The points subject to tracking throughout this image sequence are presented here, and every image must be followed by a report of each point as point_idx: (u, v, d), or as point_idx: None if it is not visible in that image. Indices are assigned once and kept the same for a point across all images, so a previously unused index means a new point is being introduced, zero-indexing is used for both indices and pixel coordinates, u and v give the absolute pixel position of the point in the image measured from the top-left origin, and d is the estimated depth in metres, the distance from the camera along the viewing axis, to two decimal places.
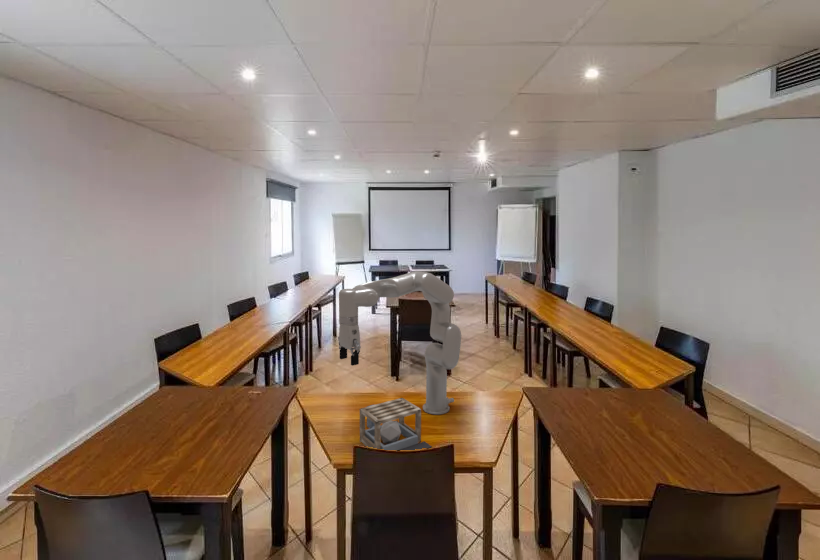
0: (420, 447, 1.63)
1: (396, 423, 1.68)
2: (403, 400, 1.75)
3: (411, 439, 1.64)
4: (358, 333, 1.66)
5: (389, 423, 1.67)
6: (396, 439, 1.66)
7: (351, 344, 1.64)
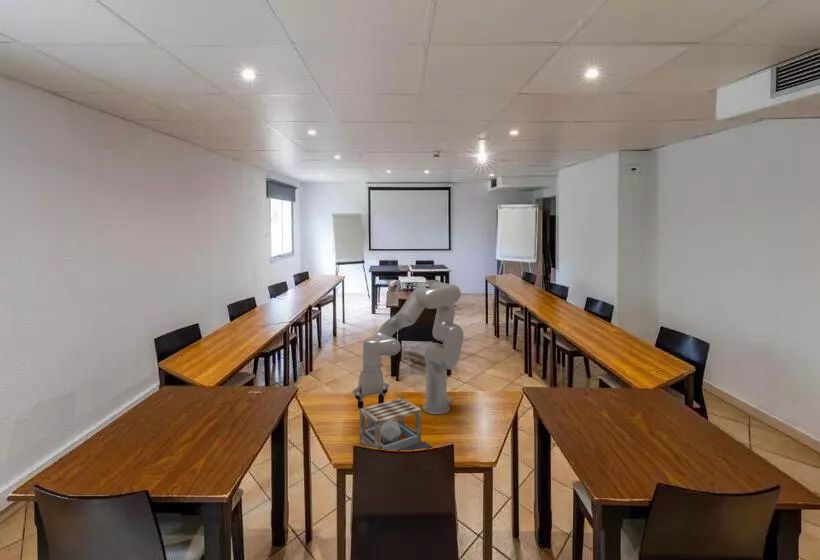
0: (420, 447, 1.63)
1: (396, 423, 1.68)
2: (403, 400, 1.75)
3: (411, 439, 1.64)
4: None
5: (389, 423, 1.67)
6: (396, 439, 1.66)
7: None
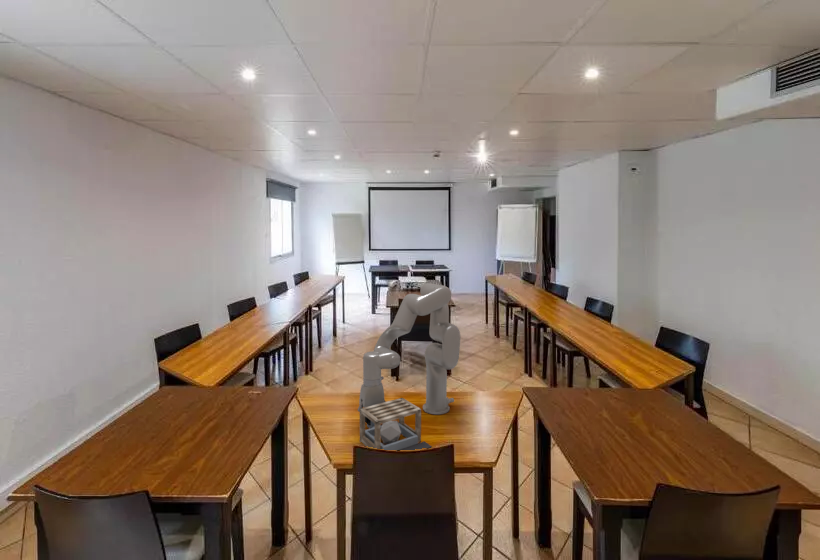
0: (420, 447, 1.63)
1: (396, 423, 1.68)
2: (403, 400, 1.75)
3: (411, 439, 1.64)
4: None
5: (389, 423, 1.67)
6: (396, 439, 1.66)
7: None
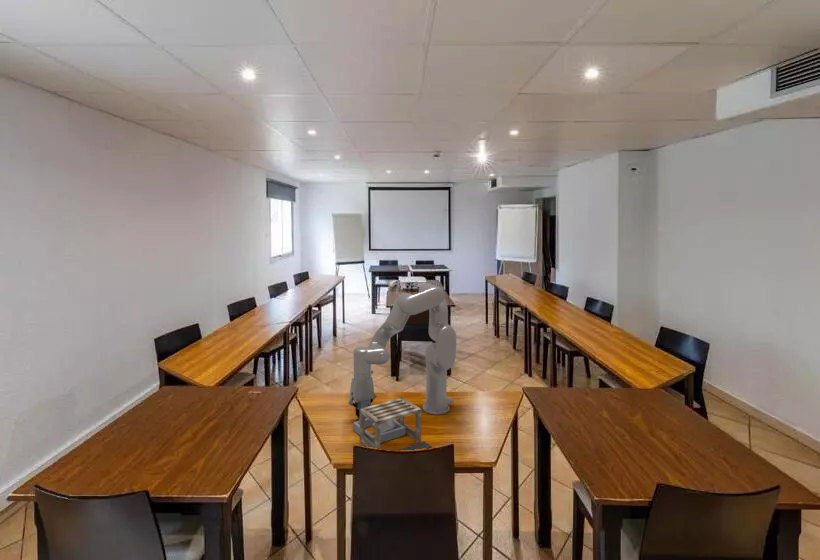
0: (420, 447, 1.63)
1: None
2: (403, 400, 1.75)
3: (399, 430, 1.72)
4: None
5: None
6: None
7: None
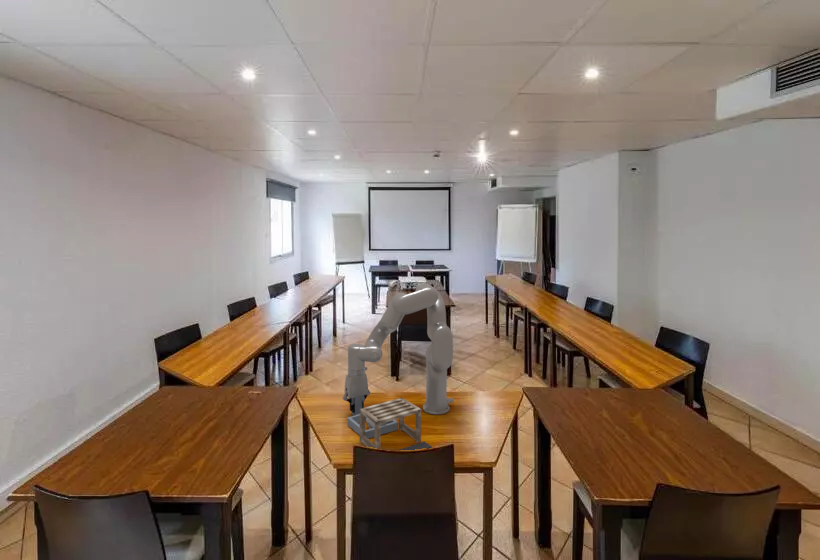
0: (420, 447, 1.63)
1: None
2: (403, 400, 1.75)
3: (391, 425, 1.76)
4: None
5: None
6: None
7: None
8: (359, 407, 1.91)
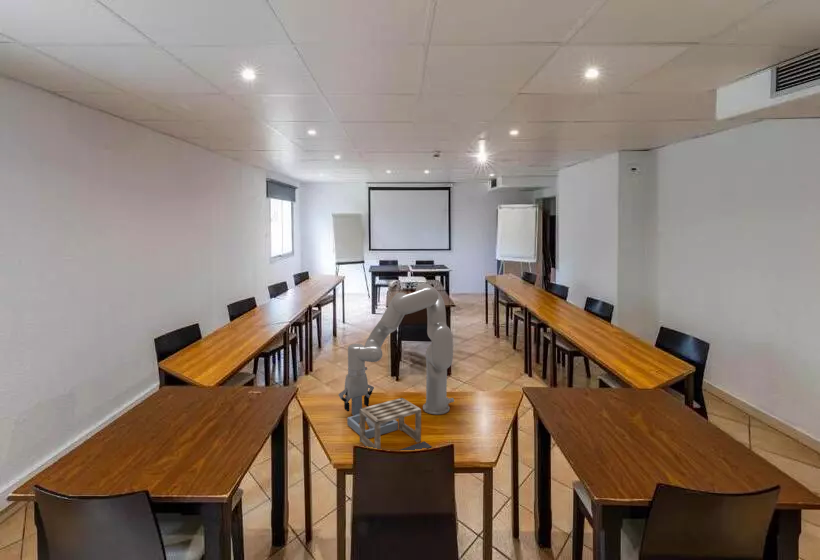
0: (420, 447, 1.63)
1: None
2: (403, 400, 1.75)
3: (391, 425, 1.76)
4: None
5: None
6: None
7: None
8: (359, 407, 1.91)
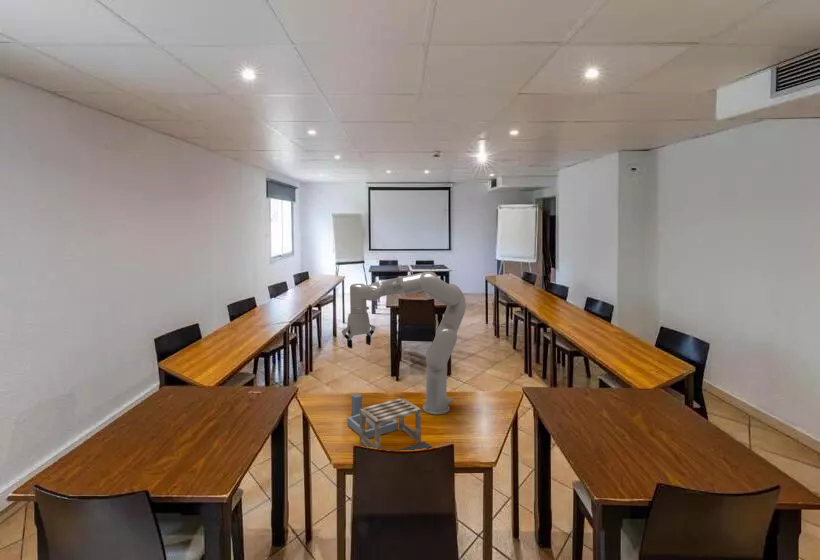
0: (420, 447, 1.63)
1: None
2: (403, 400, 1.75)
3: (391, 425, 1.76)
4: None
5: None
6: None
7: None
8: (359, 407, 1.91)
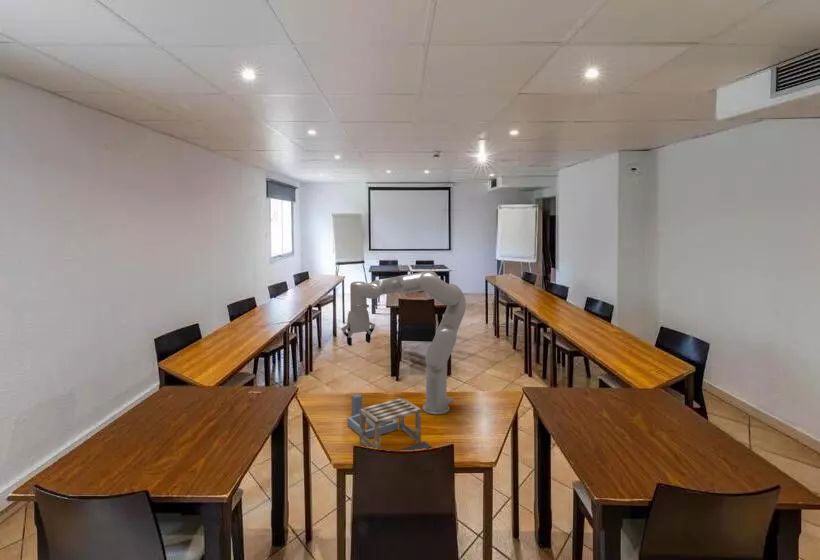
0: (420, 447, 1.63)
1: None
2: (403, 400, 1.75)
3: (391, 425, 1.76)
4: None
5: None
6: None
7: None
8: (359, 407, 1.91)
